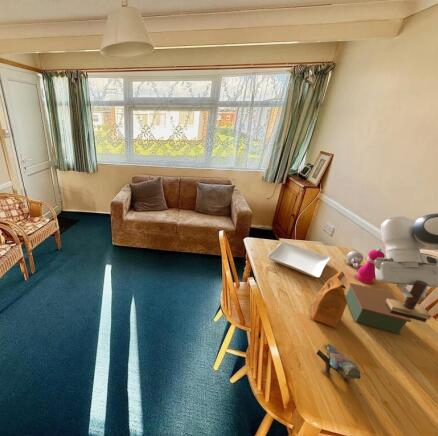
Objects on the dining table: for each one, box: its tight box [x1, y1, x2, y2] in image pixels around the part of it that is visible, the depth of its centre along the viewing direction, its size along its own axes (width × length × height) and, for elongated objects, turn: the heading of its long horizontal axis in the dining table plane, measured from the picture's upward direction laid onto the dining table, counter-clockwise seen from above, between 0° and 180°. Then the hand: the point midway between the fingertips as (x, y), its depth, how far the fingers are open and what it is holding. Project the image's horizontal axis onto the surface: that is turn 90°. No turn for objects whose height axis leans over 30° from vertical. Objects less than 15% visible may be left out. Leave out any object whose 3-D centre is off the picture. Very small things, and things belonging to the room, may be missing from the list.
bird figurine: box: [315, 343, 362, 380], centre depth 78 cm, size 13×10×20 cm
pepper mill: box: [356, 247, 386, 284], centre depth 119 cm, size 7×7×20 cm
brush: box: [385, 280, 432, 323], centre depth 81 cm, size 10×5×14 cm, turn 64°
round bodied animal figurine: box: [344, 250, 364, 269], centre depth 132 cm, size 7×12×8 cm, turn 146°
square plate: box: [266, 241, 331, 278], centre depth 138 cm, size 27×27×4 cm
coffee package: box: [310, 270, 348, 328], centre depth 97 cm, size 10×12×22 cm
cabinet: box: [345, 282, 412, 334], centre depth 101 cm, size 16×17×8 cm
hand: (415, 298), depth 81 cm, fingers closed on brush, 3 cm apart
